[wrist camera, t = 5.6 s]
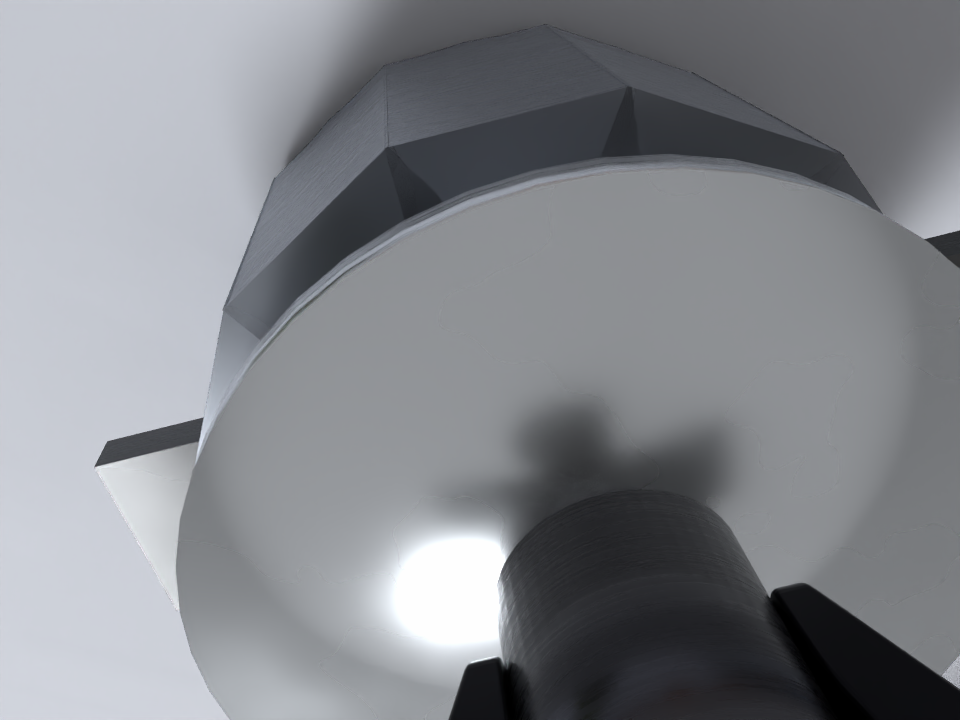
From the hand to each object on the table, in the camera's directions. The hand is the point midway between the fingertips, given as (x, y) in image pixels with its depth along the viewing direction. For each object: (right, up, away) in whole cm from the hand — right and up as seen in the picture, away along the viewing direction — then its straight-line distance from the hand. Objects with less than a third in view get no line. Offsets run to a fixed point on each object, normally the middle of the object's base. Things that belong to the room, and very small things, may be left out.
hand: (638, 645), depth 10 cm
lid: (0, +1, +2) cm, 2 cm away
